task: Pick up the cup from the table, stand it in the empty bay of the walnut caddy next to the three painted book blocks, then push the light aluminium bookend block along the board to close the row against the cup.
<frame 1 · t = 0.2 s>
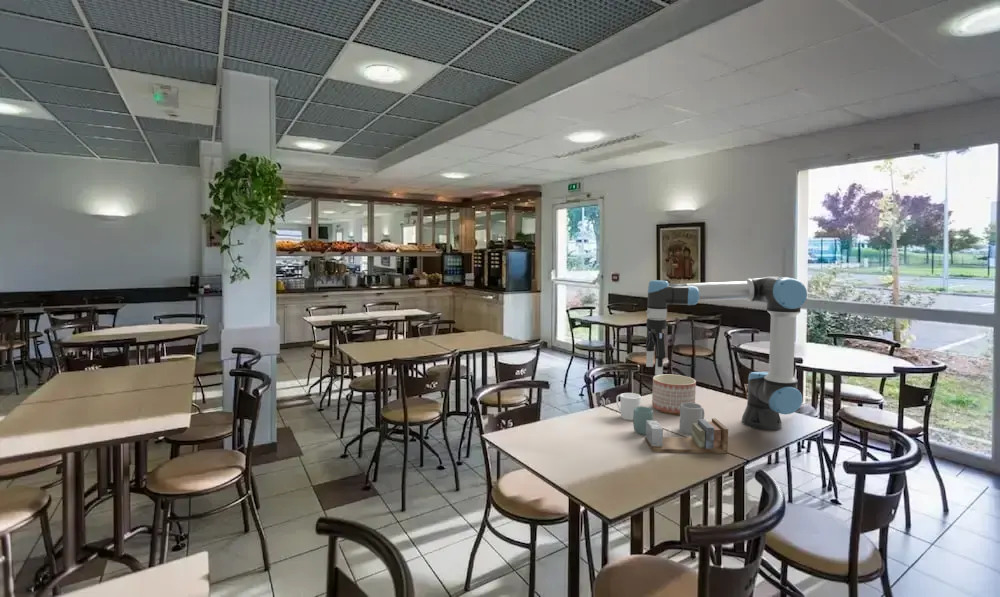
hand: (654, 370, 199), 27 cm above the table, fingers open, 13 cm apart
caddy: (684, 446, 189), on the table
cup: (642, 433, 203), on the table
planter: (673, 410, 233), on the table
mug 2: (627, 417, 222), on the table
bookend: (654, 433, 189), point 5 cm above the table, slide at 0.0 cm
mug: (693, 430, 206), on the table
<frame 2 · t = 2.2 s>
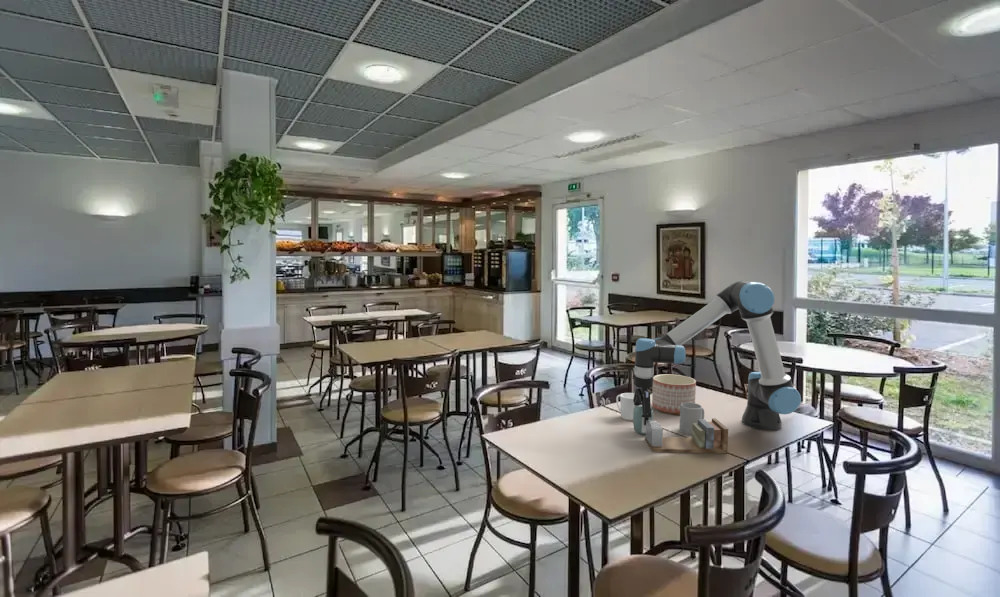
hand: (640, 426, 203), 3 cm above the table, fingers open, 13 cm apart
bookend: (653, 433, 189), point 5 cm above the table, slide at -0.1 cm, touching gripper
everything else where it was.
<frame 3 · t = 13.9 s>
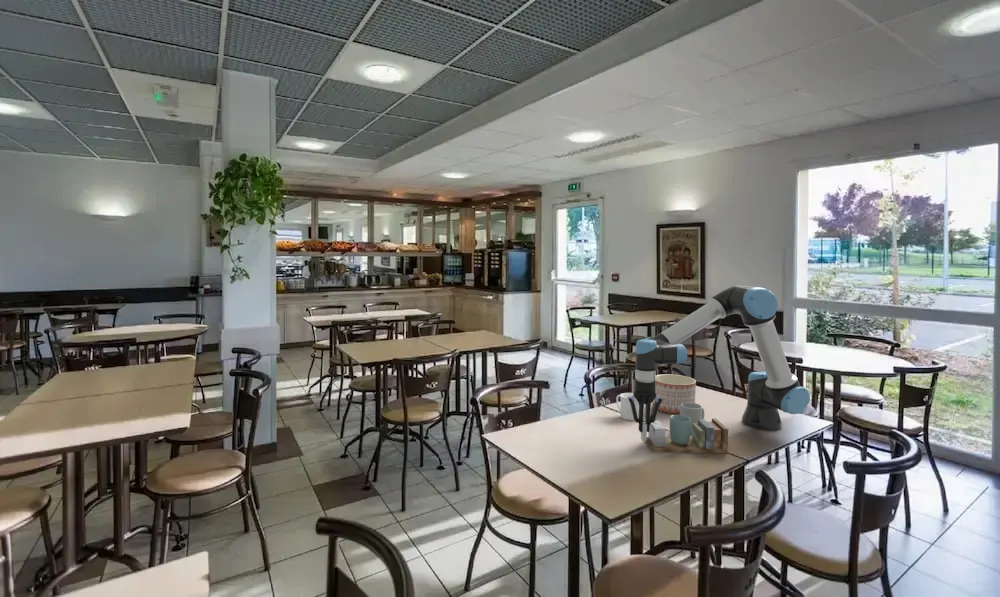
hand: (643, 439, 189), 2 cm above the table, fingers closed
cup: (679, 443, 189), point 1 cm above the table, touching caddy
bookend: (656, 433, 189), point 5 cm above the table, slide at 1.0 cm, touching gripper
everything else where it was.
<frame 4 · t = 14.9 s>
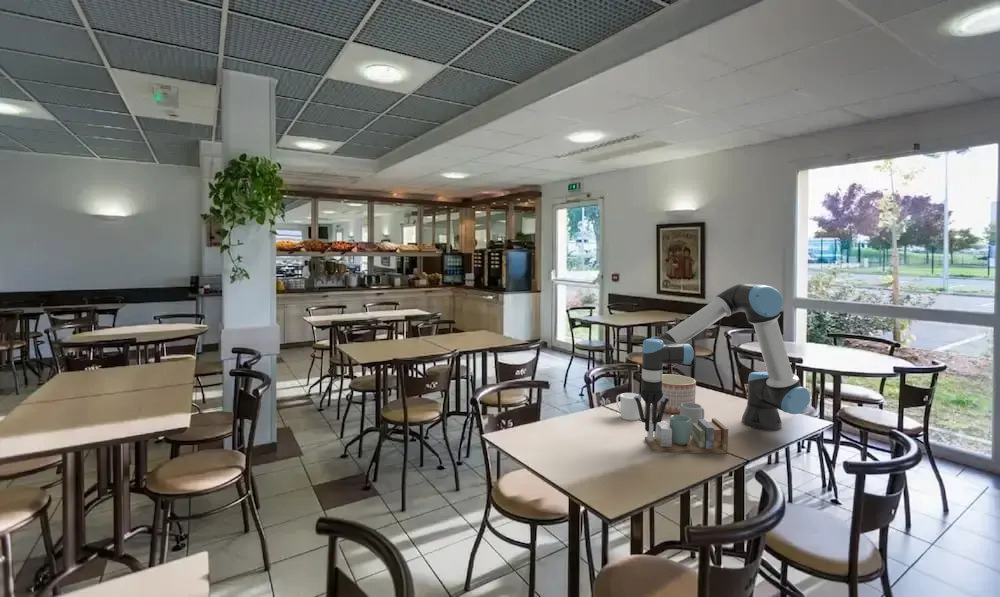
hand: (650, 439, 189), 3 cm above the table, fingers closed
bookend: (663, 433, 189), point 5 cm above the table, slide at 3.4 cm, touching gripper
everything else where it was.
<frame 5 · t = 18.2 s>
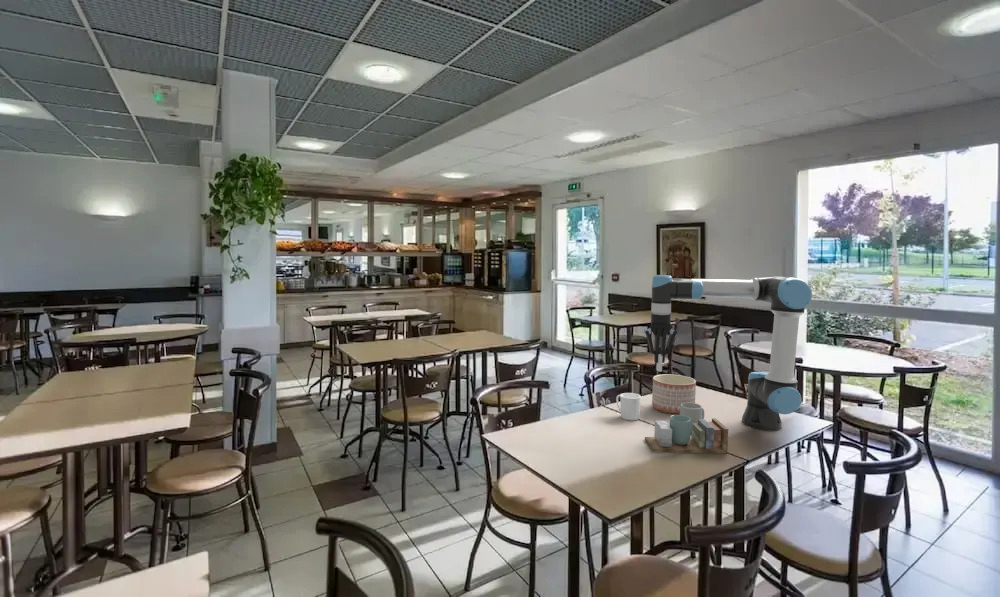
hand: (659, 370, 200), 26 cm above the table, fingers closed
bookend: (663, 433, 189), point 5 cm above the table, slide at 3.4 cm
everything else where it was.
at the end: cup 0.0 cm from the target spot on the caddy, point 1.0 cm above the caddy's base; cup tilted 0°; bookend slide at 3.4 cm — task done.
